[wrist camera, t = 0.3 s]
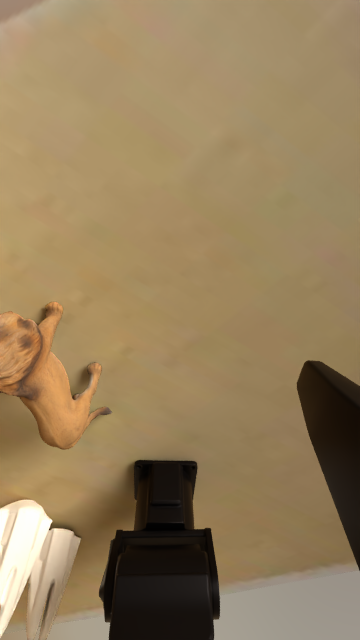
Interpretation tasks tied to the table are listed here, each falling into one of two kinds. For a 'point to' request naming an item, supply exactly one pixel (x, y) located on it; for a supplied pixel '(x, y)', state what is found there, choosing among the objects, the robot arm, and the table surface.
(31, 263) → the table surface
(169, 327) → the table surface
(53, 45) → the table surface
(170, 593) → the robot arm
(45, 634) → the shaker set
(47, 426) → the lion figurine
